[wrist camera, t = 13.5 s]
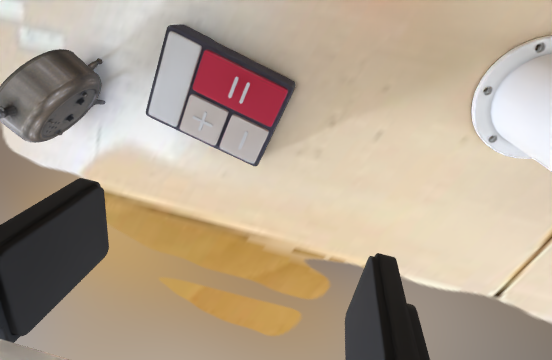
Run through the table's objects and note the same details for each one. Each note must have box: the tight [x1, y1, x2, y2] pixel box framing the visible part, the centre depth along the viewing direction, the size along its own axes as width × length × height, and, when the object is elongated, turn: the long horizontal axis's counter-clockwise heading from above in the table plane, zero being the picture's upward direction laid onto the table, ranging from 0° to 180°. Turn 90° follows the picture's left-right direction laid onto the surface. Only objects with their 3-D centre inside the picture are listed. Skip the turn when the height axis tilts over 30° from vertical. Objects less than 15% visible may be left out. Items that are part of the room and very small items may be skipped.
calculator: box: [146, 25, 295, 166], centre depth 38 cm, size 11×4×15 cm
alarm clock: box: [0, 49, 105, 142], centre depth 36 cm, size 11×5×16 cm, turn 135°
